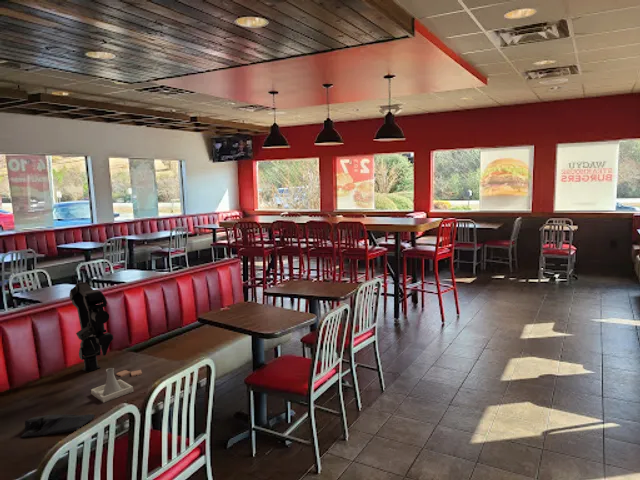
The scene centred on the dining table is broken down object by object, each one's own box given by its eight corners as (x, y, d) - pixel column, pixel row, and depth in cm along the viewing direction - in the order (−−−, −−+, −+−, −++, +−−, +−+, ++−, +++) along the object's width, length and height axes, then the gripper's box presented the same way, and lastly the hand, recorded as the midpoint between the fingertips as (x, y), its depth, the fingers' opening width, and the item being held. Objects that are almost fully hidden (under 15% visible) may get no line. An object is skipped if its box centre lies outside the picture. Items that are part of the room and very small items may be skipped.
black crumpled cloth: (77, 436, 167) (75, 424, 166) (16, 439, 167) (14, 427, 167) (98, 415, 182) (97, 403, 181) (42, 418, 183) (41, 406, 182)
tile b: (130, 374, 221) (130, 371, 221) (141, 372, 223) (140, 369, 223) (131, 377, 217) (131, 375, 217) (142, 375, 219) (141, 372, 219)
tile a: (116, 375, 221) (116, 373, 220) (125, 372, 224) (125, 369, 224) (121, 377, 218) (121, 375, 218) (130, 374, 221) (130, 371, 221)
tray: (91, 394, 200) (90, 389, 200) (120, 384, 209) (120, 379, 209) (103, 402, 192) (102, 397, 191) (133, 391, 201) (133, 386, 200)
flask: (121, 386, 205) (119, 364, 203) (121, 393, 198) (118, 370, 197) (103, 390, 202) (100, 368, 201) (102, 397, 195) (99, 374, 194)
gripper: (69, 320, 212) (74, 354, 214) (85, 327, 199) (89, 363, 201) (95, 314, 220) (99, 346, 221) (111, 321, 207) (115, 355, 208)
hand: (100, 353), depth 213 cm, fingers open, 9 cm apart
